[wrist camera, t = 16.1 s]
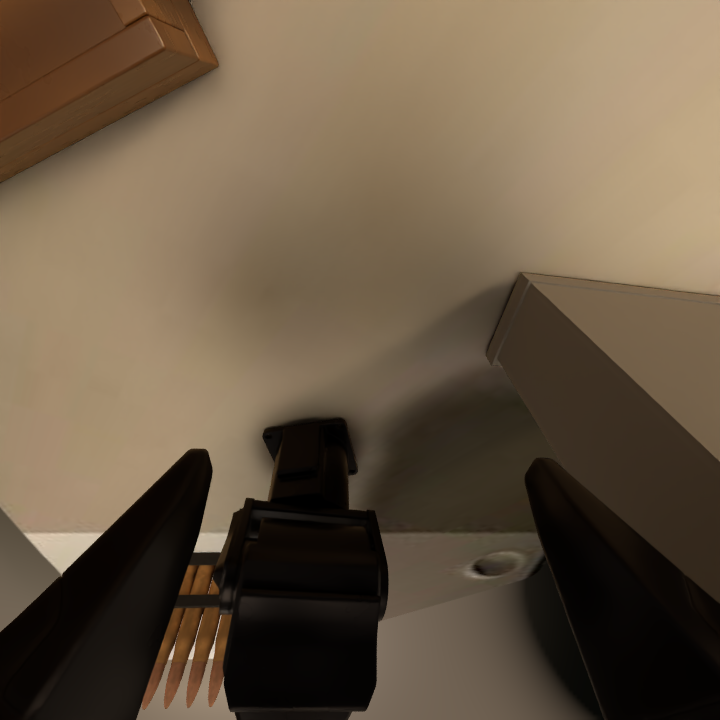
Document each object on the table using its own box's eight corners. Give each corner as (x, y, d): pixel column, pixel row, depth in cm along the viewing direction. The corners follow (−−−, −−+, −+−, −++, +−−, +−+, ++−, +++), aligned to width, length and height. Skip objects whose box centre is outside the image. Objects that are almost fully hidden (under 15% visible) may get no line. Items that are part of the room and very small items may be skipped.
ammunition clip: (153, 561, 39) (90, 714, 29) (148, 553, 38) (82, 709, 28) (252, 560, 40) (223, 709, 30) (250, 552, 38) (220, 703, 29)
